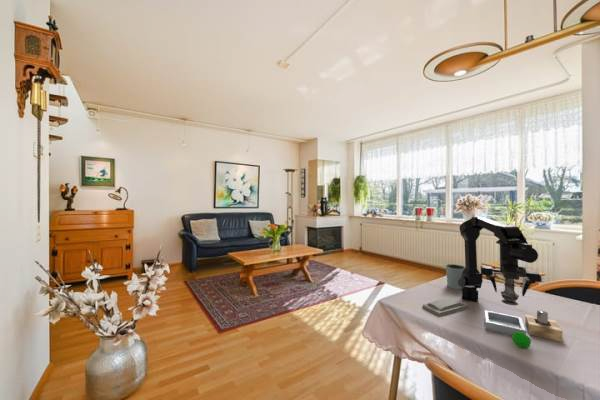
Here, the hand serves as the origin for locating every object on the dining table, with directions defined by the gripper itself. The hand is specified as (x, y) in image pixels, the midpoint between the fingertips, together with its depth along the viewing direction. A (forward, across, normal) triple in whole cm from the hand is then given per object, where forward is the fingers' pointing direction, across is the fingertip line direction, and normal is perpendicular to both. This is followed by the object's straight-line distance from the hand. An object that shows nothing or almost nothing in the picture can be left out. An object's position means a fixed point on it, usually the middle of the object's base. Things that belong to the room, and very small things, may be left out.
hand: (509, 293), depth 102 cm
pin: (+13, +10, 0) cm, 16 cm away
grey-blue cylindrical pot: (+13, -20, +39) cm, 46 cm away
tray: (+13, -2, -3) cm, 14 cm away
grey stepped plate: (+14, -23, +4) cm, 27 cm away
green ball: (+13, +2, -16) cm, 21 cm away
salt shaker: (+4, 0, 0) cm, 4 cm away
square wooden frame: (+13, +10, 0) cm, 16 cm away
